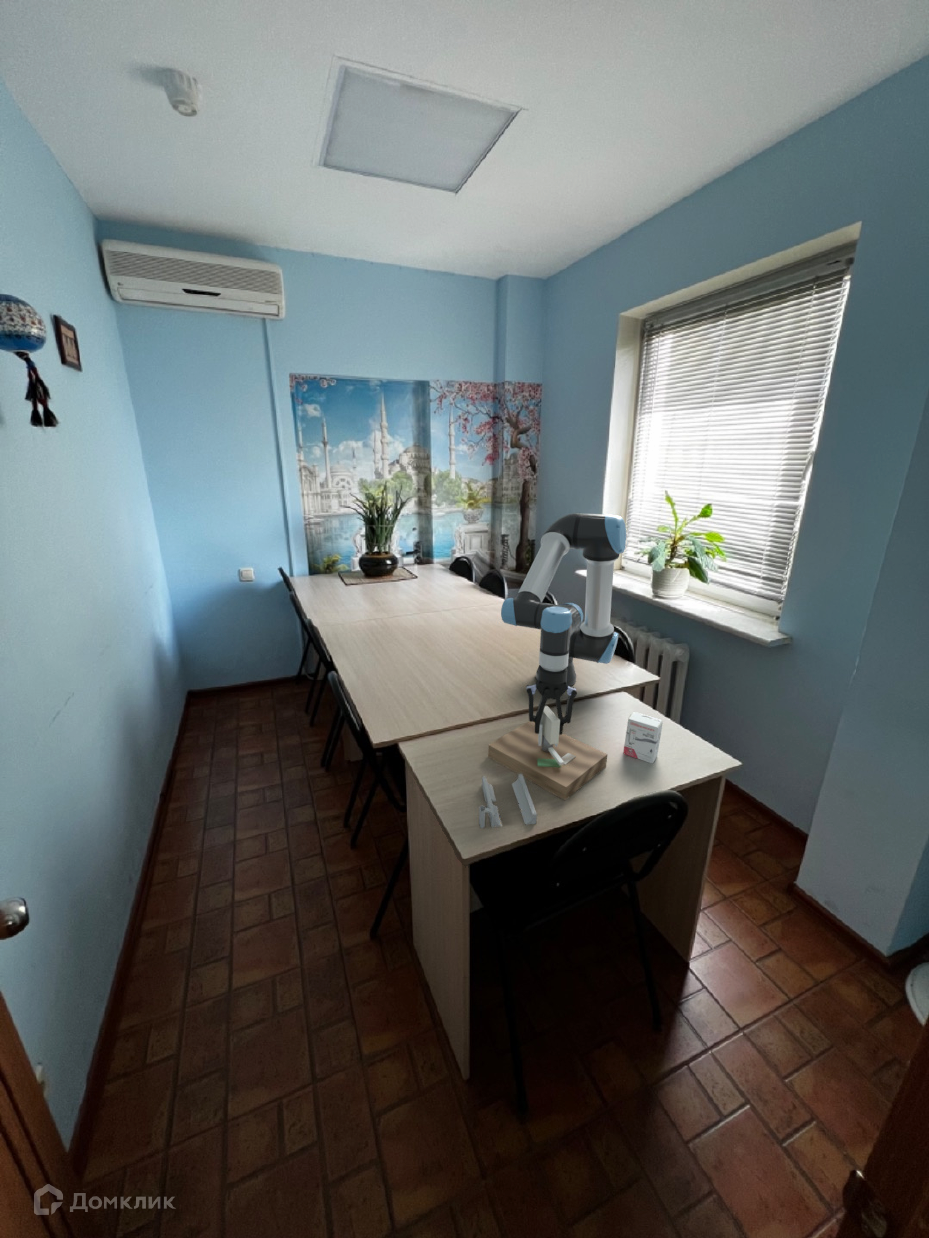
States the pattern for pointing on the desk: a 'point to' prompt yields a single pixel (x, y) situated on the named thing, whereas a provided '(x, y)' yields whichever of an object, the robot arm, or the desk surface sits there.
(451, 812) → the desk surface
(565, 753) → the brown wavy board
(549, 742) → the white piece
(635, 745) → the ink box
